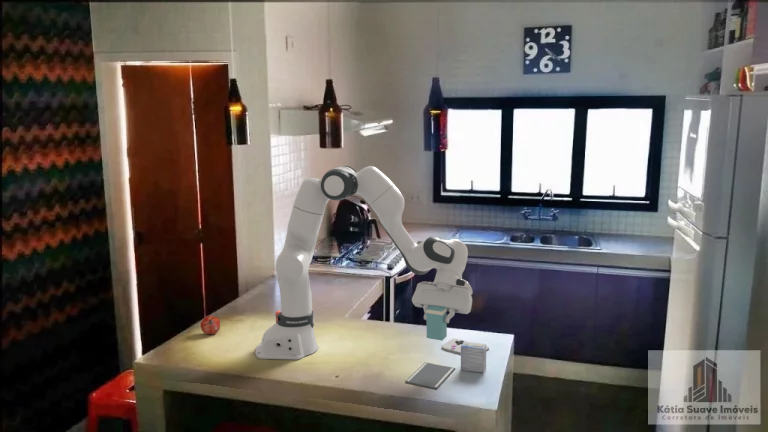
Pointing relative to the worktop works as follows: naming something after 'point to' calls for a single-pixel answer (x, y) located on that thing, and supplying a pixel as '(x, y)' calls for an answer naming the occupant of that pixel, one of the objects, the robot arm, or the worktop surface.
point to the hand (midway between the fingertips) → (435, 320)
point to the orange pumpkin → (210, 325)
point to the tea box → (436, 322)
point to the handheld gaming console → (455, 346)
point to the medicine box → (473, 357)
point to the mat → (430, 375)
